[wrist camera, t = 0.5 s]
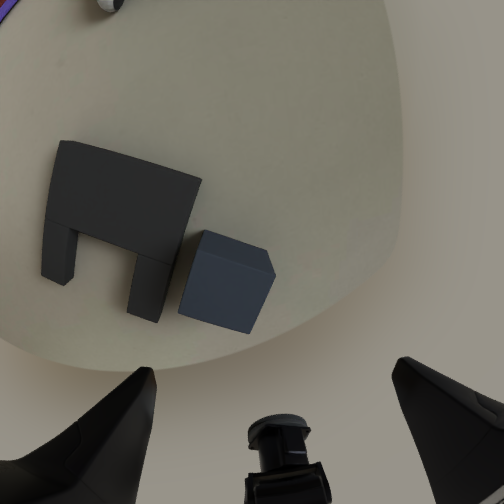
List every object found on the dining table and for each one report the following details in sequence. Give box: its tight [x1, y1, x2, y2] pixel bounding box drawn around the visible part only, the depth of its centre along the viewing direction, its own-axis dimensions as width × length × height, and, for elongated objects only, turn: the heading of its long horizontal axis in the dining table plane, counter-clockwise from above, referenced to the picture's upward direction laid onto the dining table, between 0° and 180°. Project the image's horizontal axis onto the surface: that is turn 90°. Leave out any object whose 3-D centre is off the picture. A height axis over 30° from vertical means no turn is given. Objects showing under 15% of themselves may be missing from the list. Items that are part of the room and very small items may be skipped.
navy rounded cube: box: [178, 230, 276, 334], centre depth 20 cm, size 5×5×5 cm
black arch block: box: [41, 140, 202, 323], centre depth 20 cm, size 12×12×2 cm
